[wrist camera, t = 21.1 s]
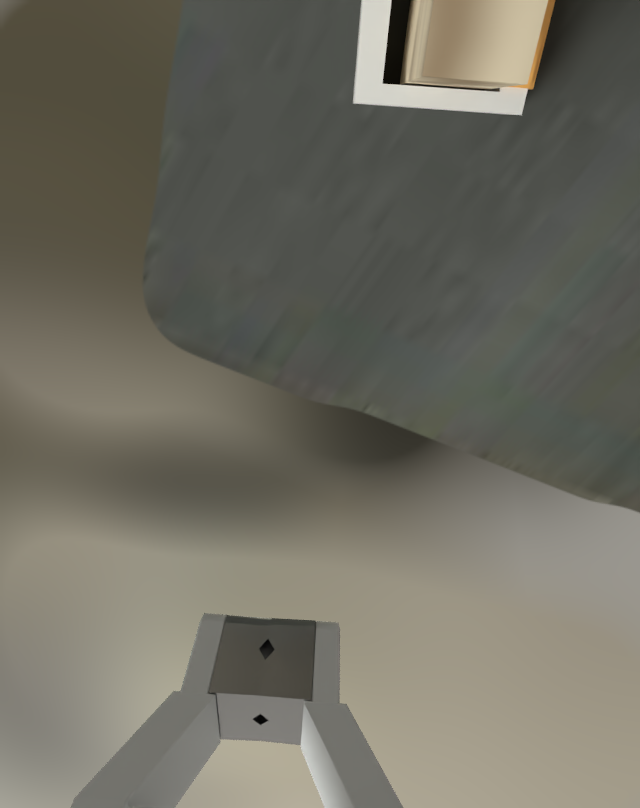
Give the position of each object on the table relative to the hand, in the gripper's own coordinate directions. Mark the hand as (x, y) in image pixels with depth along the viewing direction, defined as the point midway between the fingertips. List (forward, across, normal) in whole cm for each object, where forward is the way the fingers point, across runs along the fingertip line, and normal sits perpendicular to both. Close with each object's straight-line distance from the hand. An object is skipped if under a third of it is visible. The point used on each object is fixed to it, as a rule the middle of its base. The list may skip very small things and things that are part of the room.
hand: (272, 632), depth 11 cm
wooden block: (+29, -6, -14) cm, 33 cm away
